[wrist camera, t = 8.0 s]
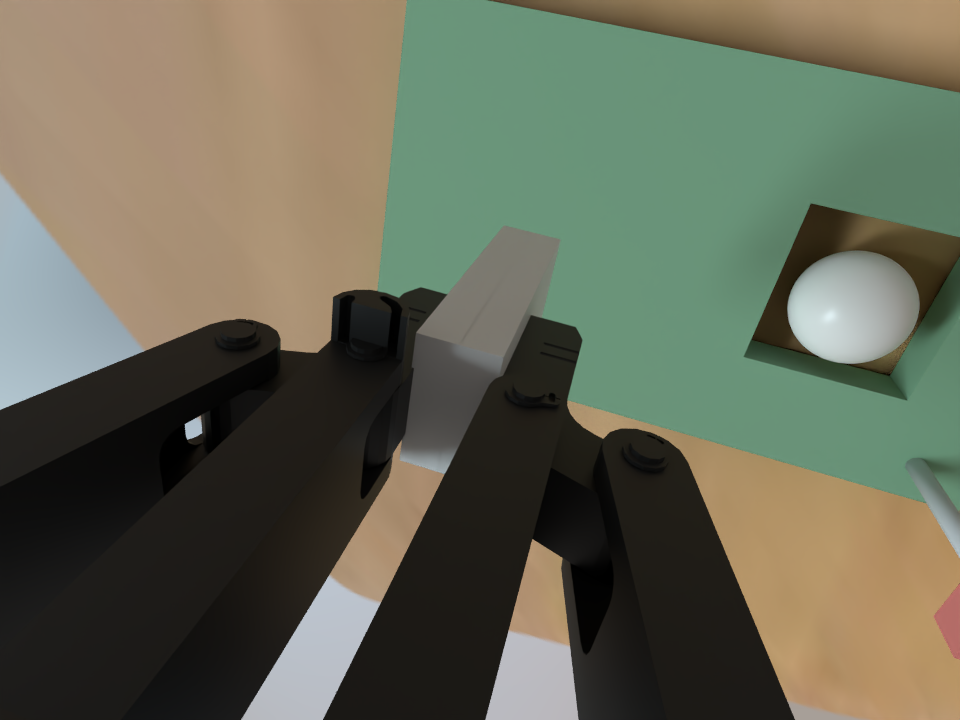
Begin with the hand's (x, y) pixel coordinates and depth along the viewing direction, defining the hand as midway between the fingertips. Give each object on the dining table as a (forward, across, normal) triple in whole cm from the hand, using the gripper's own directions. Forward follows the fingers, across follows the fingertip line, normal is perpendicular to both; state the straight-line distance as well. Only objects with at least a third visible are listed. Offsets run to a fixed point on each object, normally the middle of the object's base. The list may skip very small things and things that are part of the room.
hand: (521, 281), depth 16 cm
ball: (+8, +11, -1) cm, 13 cm away
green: (+10, +6, -1) cm, 12 cm away
